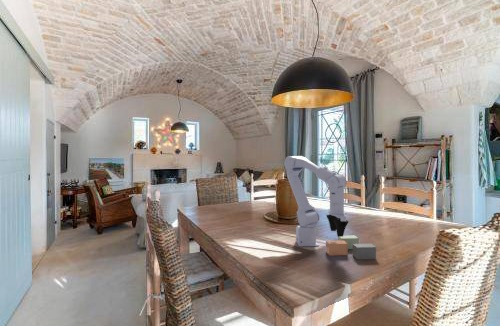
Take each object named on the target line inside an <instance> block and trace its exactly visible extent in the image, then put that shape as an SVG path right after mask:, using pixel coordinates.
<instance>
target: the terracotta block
mask: <svg viewBox="0 0 500 326" xmlns="http://www.w3.org/2000/svg"><path fill="white" fill-rule="evenodd" d="M348 250H349V249H348V244H347V243H346V242H345V241H344V240H340V241H338V240H325V253H326V254H327V255H328V256H348V254H349V253H348Z"/></svg>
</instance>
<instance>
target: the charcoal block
mask: <svg viewBox="0 0 500 326" xmlns="http://www.w3.org/2000/svg"><path fill="white" fill-rule="evenodd" d="M352 256H353V257H354V259H356V260H376V259H377V246H375V245H374V244H373V243H359V244H353V249H352Z"/></svg>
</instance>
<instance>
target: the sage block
mask: <svg viewBox="0 0 500 326" xmlns="http://www.w3.org/2000/svg"><path fill="white" fill-rule="evenodd" d="M359 239H360V238H359V237H357V236H356V235H354V234H353V235H348V234H347V235H343V237H338V236H337V241H340V240H344V241H345V242H346V243H347V244H348V250H353V244H360V243H359Z"/></svg>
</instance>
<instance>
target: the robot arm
mask: <svg viewBox="0 0 500 326" xmlns="http://www.w3.org/2000/svg"><path fill="white" fill-rule="evenodd" d="M283 165H284V167H285V170H286V172H285V173H286V177H287V179H288V180H287V181H288V183H289V185H290V188H291V190H292V193H293V196H294V199H295V200H296V204H297V207H298V209H297V211H296V215H297V221H298V224H299V225H296V227H295V242H296V244H297V245H298V247H319V246H320V245H319V243H318V242H317V225H318V223H319V221H320V215H319V213H318V211H316V208H315V206H313V205H311V204H310V202H309V200H308V197H307V194H306V192H305V189H304V187H303V184H302V181H301V180H300V177H299V175H300V173H301V172H302V170H303V169H306V170H308V171H311V172H312V173H314V174H315V175H316V176H315V177H316V178H318V179H319V180H320V181H322V182H323V183H325V184H326V185H327V186H328V188H329V208H328V214H326V218H327V221H328V224H329V228H330V231H331V232H336V235H337V238H338V237H343V236H344V234H345V230H346V228H347V226H348V224H349V220H347V216H346V215H347V212H346V211H344V209H345V206H344V205H345V196H344V195H345V187H346V185H347V179H346V176H344V175H343V174H337V172H336V171H332V170H330V169H329V167H328V166H319V165H317V164H315V163H314V162H312V161H311V160H309V159H308V158H307V157H304V155H292V156H291V155H288V156H286V157H285V159H284V163H283Z"/></svg>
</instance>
